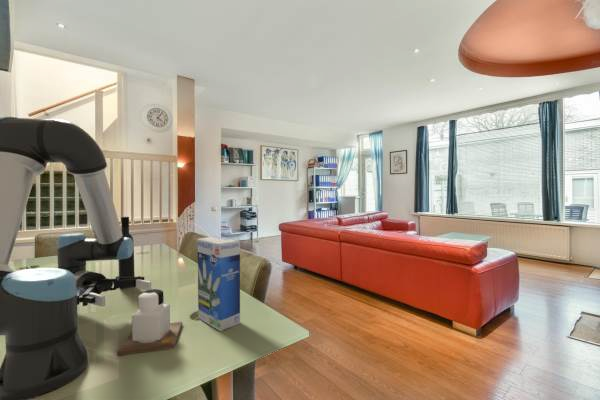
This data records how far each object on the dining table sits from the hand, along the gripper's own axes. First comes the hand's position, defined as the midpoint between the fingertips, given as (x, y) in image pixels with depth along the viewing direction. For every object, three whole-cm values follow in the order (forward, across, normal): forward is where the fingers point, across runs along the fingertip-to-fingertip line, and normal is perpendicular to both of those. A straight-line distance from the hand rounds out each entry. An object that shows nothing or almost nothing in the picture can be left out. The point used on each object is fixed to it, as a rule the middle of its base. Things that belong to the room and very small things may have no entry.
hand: (128, 293), depth 81 cm
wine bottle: (-40, -24, -11) cm, 48 cm away
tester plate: (+10, 0, -11) cm, 15 cm away
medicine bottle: (+10, 0, -10) cm, 14 cm away
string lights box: (+19, -16, -11) cm, 28 cm away
